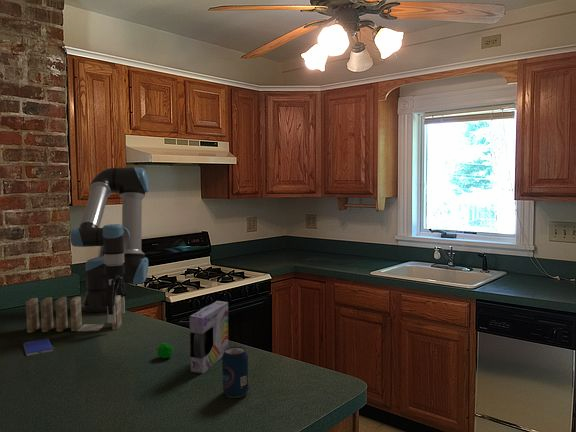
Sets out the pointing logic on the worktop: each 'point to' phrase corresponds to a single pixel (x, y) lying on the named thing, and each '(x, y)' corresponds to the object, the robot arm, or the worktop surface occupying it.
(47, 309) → the domino
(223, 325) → the cake pan box
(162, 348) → the polyhedron
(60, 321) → the domino
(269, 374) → the worktop surface
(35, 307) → the domino
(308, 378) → the worktop surface
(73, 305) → the domino
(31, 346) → the hard drive
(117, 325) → the domino
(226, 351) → the soda can
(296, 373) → the worktop surface
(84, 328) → the end pad
